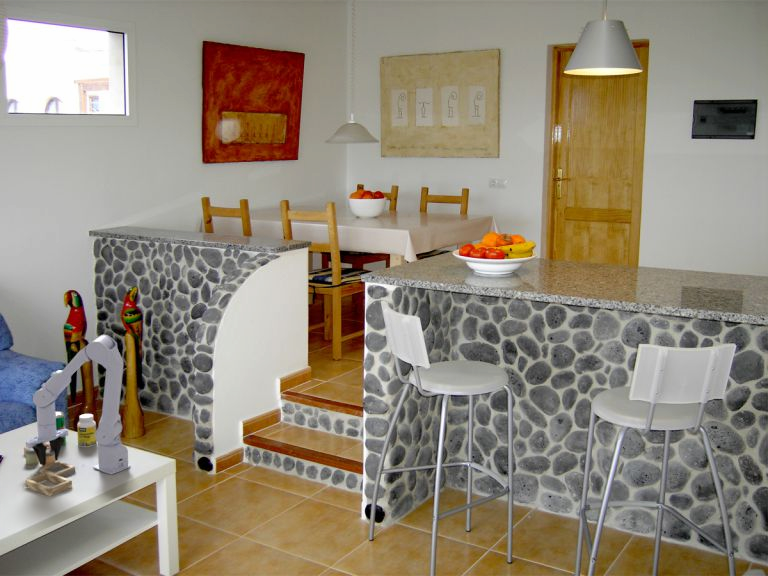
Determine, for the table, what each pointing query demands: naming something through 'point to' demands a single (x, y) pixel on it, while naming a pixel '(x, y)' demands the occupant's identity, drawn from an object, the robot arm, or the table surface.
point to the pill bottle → (86, 431)
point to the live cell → (50, 457)
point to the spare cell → (31, 456)
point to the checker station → (52, 478)
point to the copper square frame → (45, 445)
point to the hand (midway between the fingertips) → (48, 462)
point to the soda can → (60, 423)
